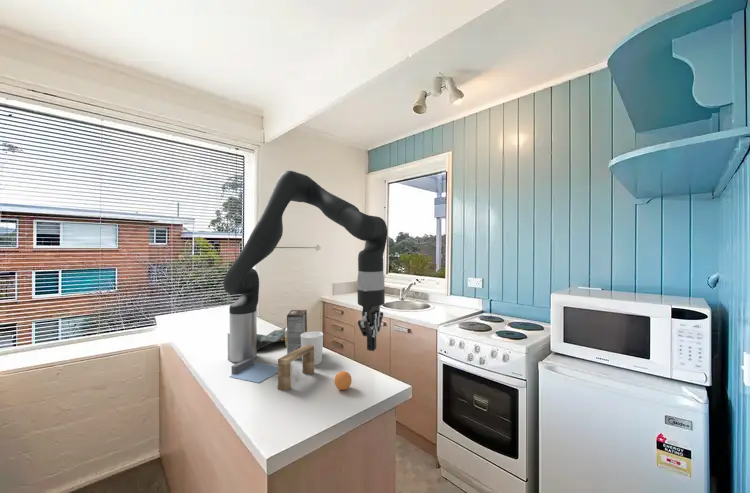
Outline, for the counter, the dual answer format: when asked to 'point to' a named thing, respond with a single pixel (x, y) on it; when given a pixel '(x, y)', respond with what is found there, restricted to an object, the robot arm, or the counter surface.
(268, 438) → the counter surface
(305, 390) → the counter surface
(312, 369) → the bridge
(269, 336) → the grey green crumpled pouch
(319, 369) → the counter surface
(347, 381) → the ball
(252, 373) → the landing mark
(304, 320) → the coffee box
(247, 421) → the counter surface
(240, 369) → the strip
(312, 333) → the white cup
